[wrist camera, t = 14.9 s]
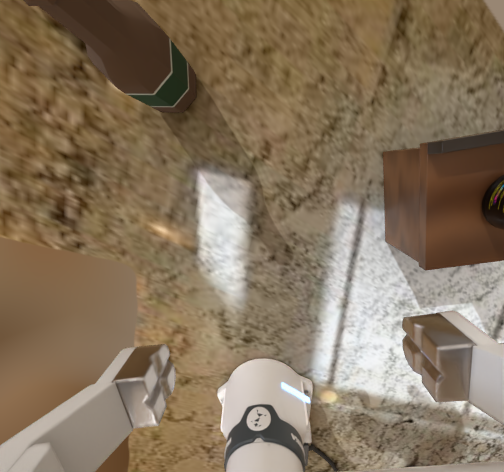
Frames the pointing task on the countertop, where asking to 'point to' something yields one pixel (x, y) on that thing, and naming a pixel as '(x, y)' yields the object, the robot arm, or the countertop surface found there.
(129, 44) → the beer bottle
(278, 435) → the robot arm
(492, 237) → the wooden stand
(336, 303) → the countertop surface
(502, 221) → the supplement container
